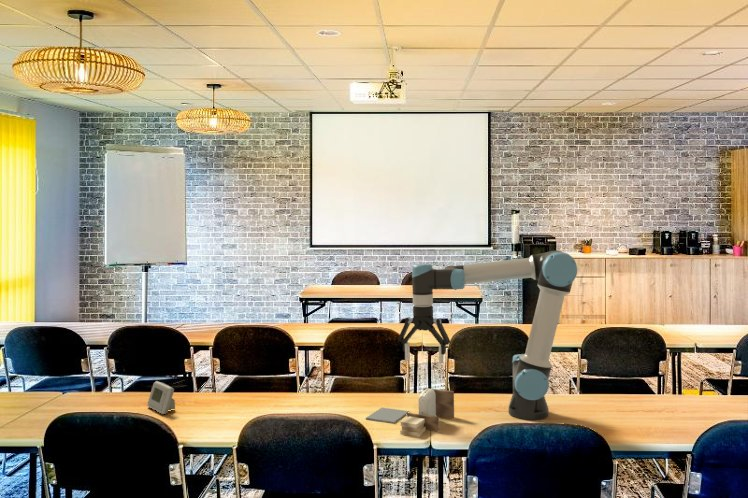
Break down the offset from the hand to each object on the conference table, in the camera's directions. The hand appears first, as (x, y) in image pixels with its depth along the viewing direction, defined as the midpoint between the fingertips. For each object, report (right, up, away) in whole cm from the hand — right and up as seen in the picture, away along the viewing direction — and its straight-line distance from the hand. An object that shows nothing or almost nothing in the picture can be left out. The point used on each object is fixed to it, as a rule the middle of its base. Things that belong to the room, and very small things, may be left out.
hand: (424, 361), depth 230 cm
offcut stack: (-5, -24, -10) cm, 26 cm away
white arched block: (+1, -23, 0) cm, 23 cm away
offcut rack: (+3, -23, 0) cm, 23 cm away
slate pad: (-13, -23, +8) cm, 28 cm away
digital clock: (-106, -24, +22) cm, 111 cm away
